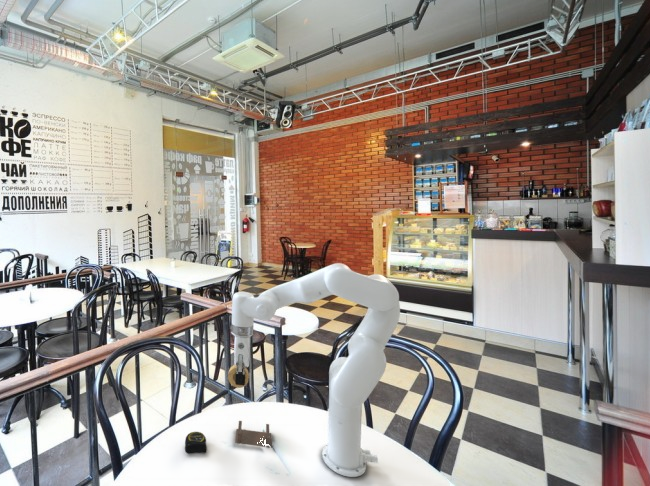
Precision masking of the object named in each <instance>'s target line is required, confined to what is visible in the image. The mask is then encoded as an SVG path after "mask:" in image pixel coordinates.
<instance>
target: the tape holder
mask: <svg viewBox="0 0 650 486" xmlns="http://www.w3.org/2000/svg"><path fill="white" fill-rule="evenodd" d="M242 423H243V421H242V420H238V427H237V428H236V431H235V439H234V444H240V445H246V446H247V445H248V446H254V447H255V446H256V447H264V448H266V447H265V445H264V446H263V445H262V443H263V444H264V440H265V439H266V444H269V445H270V446H271V448H273V443H272V442H273V441H272V433H271V432H270V424H269V423H266V424H265V425H266V426H265V431H259V430H257V431H256V430H249V429H243V424H242ZM263 436H264V437H263ZM260 438H261V439H260ZM262 438H263V441H261V442H262V443H261V442H260V440H262ZM257 442H258V444H257ZM259 442H260V443H259Z"/></svg>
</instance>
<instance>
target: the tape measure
mask: <svg viewBox="0 0 650 486" xmlns="http://www.w3.org/2000/svg"><path fill="white" fill-rule="evenodd" d="M184 452H185V453H186V454H206V453H207V438H206V435H205V434H204V433H203V432H201V431H191V432H189V433H188V434H187V435H186V436H185V441H184Z"/></svg>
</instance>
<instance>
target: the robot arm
mask: <svg viewBox="0 0 650 486" xmlns="http://www.w3.org/2000/svg"><path fill="white" fill-rule="evenodd" d="M333 295H334V296H336V297H339V298H340V299H343V300H345V301H348V302H352V303H354V304H357V305H360V306H363V307H365V308H367V311H366V313H365V315H364V317H363V319H362V320H361V322H360V323H359V325H358V327H357V328H356V329H355V331H354V333H352V335H351V337H350V338H349V340H348V342H347V350H348V356H340V357H337V358H335V359H333V361H332V362H331V363H330V366H329V369H328V370H329V371H328V389H329V390H328V417H327V418H328V420H327V445H325V446H324V447H323V448H322V453H321V457H322V460H323V462H324V463H325V465H326V466H327V467H328V468H329V469H330V470H331V471H333V472H335V473H337V474H338V475H341V476H344V477H348V478H357V477H360V476H362V475H363V474H364V473H365V472H366V470H367V463H368V462H369V463H373V464H378V463H379V460H378V456H377V455H376V454H371V450H370V449H364V448H363V449H362V416H363V404H364V403H365V402H366V401H367V399H368V398H369V397H370V395H371V394H372V392H373V391H374V389H375V388H376V387H377V385H378V383H379V382H380V380H382V377H383V376H384V374H385V371H386V368H387V357H386V354H385V350H384V349H385V348H386V346H387V344H388V343H389V341H390V339H391V337H392V336H393V334H394V332H395V330H396V328H397V326H398V324H399V320H400V315H401V304H400V294H399V291H398V289H397V287H396V286H395V285H394V284H393V282H391V281H390V280H389V279H388V278H387V277H386V276H384V275H382V274H379V273H378V274H377V273H374V274H370V275H365V274H362V273H358V272H357V271H354V270H352V269H351V268H350V267H349V266H348V265H347V264H345V263H341V262H336V263H332V264H330V265H327V266H325V267H322V268H320V269H318V270H315V271H313V272H310V273H308V274H306V275H303V276H301V277H298V278H295V279H292V280H290V281H287V282H284V283H281V284H278V285H276V286H273V287H271V288H269V289H267V290H265V291H263V292H261V293H260V294H259V295H258V296H255V295H253V293H250V292H246V291H238V292H237V291H236V292H234V293H233V295H232V300H231V301H232V302H231V328H230V329H231V330H230V333H231V335H232V336H234V343H233V345H234V346H233V347H234V348H233V353H234V354H233V356H234V357H233V359H234V361H233V362H234V363H233V364H234V365H235V366H236V365H237V370H236V381H235V384H236V385H243V386H244V385H245V367H246V368H249V367H250V358H251V357H250V355H251V337H252V336H253V335H254V320H255V319H256V320H258V321H264V322H265V321H266V322H267V321H269V320H271V319H273V318H274V316H275V314H276V312H277V310H279V309H282V308H284V307H287V306H289V305H292V304H298V303H302V304H312V303H315V302H317V301H320V300H322V299H324V298H327V297H329V296H333ZM242 367H243V368H242ZM245 386H246V385H245ZM245 386H244V387H245Z"/></svg>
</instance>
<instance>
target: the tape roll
mask: <svg viewBox="0 0 650 486" xmlns="http://www.w3.org/2000/svg"><path fill="white" fill-rule="evenodd" d="M242 368H243V367H242ZM247 368H248V367H245V385H244V386H243V385H236V384H235V381H236V370H237V365H236V366H235V364H233V365H232V366H230V368H229V370H228V374H227V380H228V383H229V384H230V385H231V386H232V387H234V388H237V389H240V388H244V387H246V386H247V384H248V383H249V378H250V377H249V376H250V373H249V370H248V369H247Z"/></svg>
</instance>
